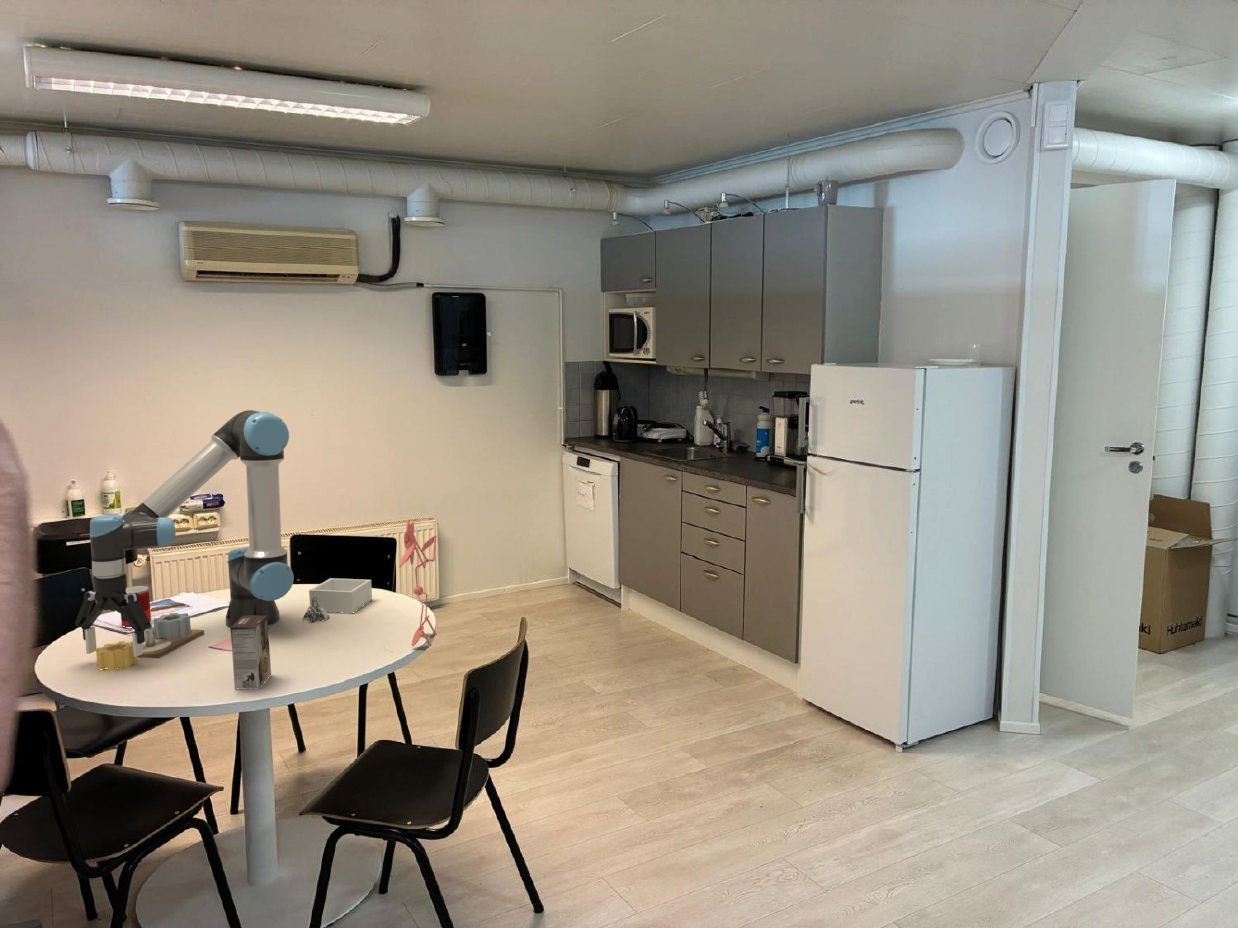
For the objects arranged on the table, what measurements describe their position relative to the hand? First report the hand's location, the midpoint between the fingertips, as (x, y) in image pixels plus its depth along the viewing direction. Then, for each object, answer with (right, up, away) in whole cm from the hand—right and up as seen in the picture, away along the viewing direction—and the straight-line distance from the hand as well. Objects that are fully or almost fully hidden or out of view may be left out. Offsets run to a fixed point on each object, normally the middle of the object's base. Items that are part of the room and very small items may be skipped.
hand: (114, 653), depth 229 cm
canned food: (-13, +1, +34) cm, 36 cm away
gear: (+4, +1, +21) cm, 22 cm away
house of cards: (+38, +1, +36) cm, 53 cm away
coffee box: (+41, -5, -11) cm, 43 cm away
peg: (+3, 0, +12) cm, 12 cm away
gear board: (+4, -1, +16) cm, 17 cm away
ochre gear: (0, -3, +1) cm, 3 cm away
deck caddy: (+43, +4, +52) cm, 67 cm away
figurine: (+73, -1, +19) cm, 75 cm away
